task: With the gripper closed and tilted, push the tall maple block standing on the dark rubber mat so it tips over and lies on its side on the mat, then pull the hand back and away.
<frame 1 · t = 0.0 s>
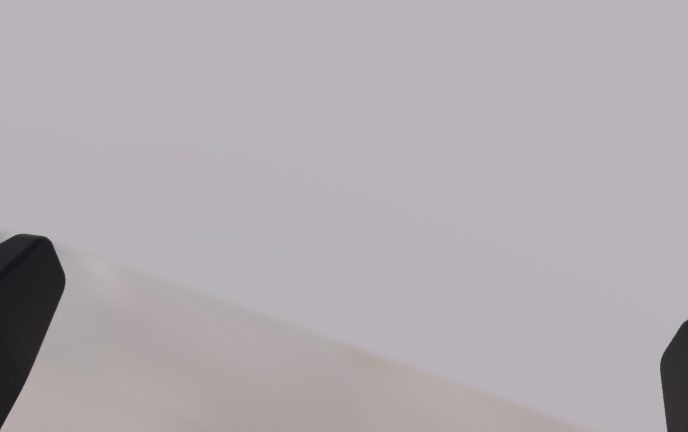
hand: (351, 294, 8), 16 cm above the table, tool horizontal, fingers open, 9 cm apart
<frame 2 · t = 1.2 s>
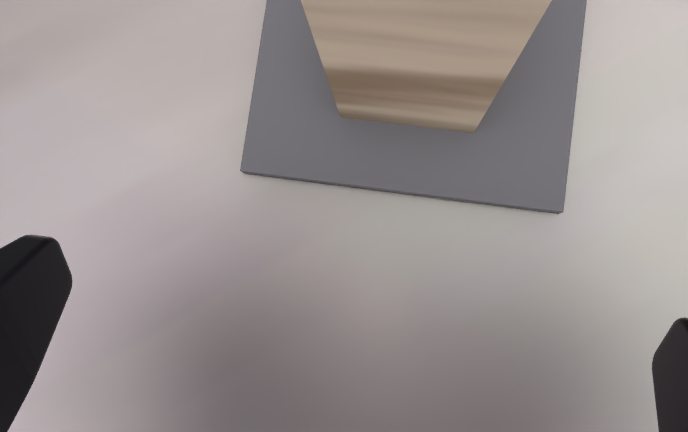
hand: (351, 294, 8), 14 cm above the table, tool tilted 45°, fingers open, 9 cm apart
maple block: (414, 60, 22), point 1 cm above the table, touching rubber mat
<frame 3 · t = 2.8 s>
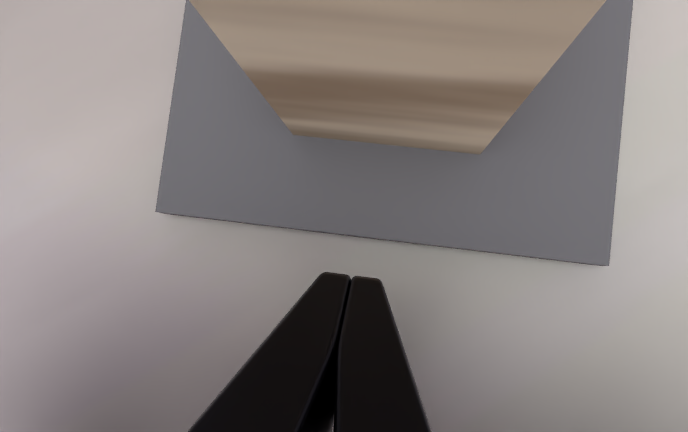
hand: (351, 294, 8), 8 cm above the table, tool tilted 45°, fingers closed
maple block: (396, 53, 16), point 1 cm above the table, touching rubber mat
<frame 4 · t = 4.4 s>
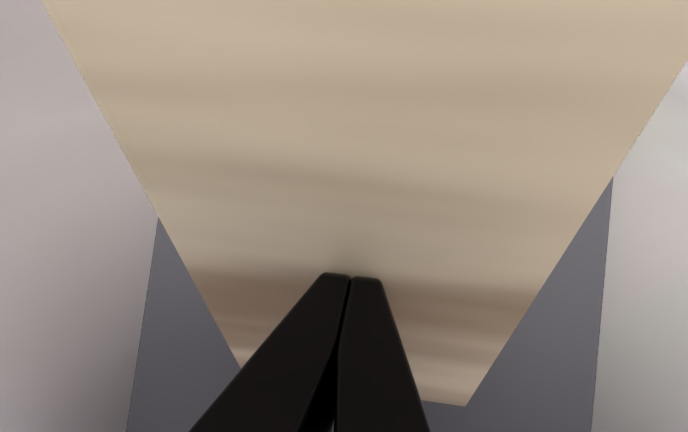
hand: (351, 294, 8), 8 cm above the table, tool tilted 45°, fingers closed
rubber mat: (381, 189, 16), on the table
maple block: (366, 289, 14), point 2 cm above the table, tilted 27°, touching rubber mat
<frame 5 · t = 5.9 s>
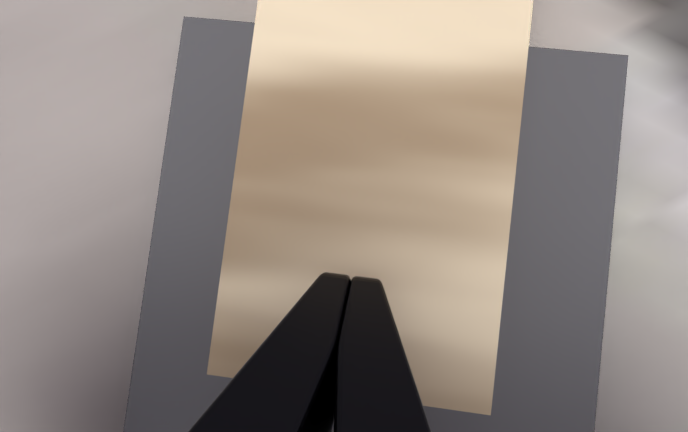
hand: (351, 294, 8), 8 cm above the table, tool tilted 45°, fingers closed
rubber mat: (363, 330, 16), on the table
maple block: (354, 368, 13), point 3 cm above the table, tilted 90°, touching rubber mat
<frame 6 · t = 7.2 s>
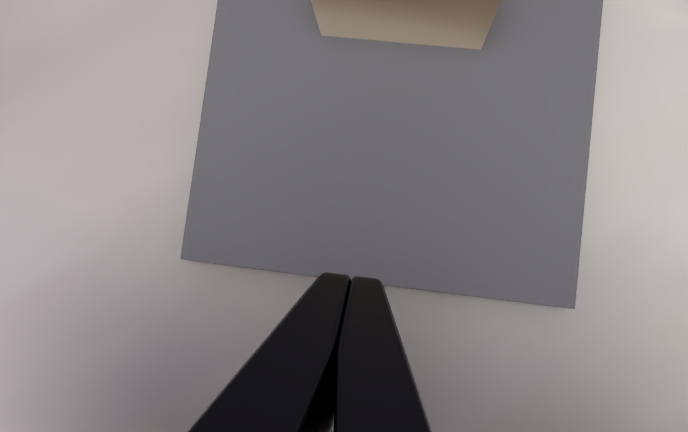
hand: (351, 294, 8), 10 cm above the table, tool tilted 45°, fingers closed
rubber mat: (401, 35, 19), on the table
maple block: (401, 7, 16), point 3 cm above the table, tilted 90°, touching rubber mat
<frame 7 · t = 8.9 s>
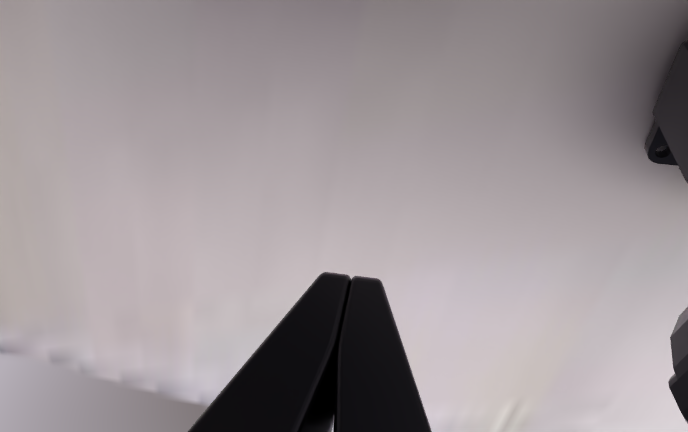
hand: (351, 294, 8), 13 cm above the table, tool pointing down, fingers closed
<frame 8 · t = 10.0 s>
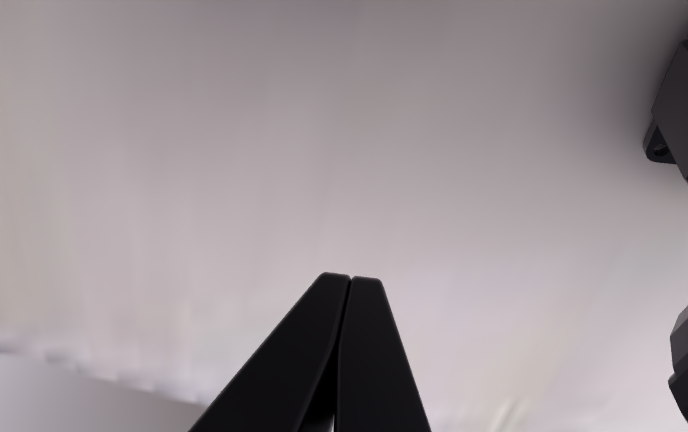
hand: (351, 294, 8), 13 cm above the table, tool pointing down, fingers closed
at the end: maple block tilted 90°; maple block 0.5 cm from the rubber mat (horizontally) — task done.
